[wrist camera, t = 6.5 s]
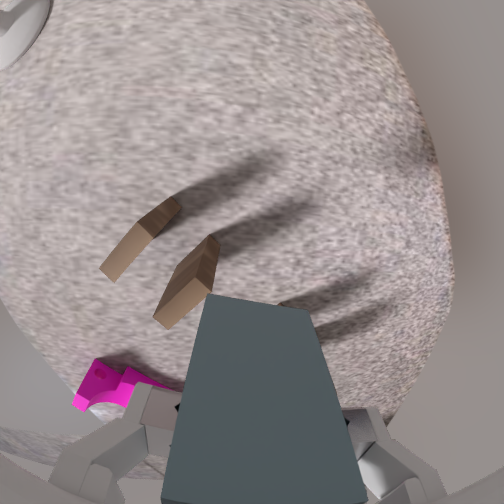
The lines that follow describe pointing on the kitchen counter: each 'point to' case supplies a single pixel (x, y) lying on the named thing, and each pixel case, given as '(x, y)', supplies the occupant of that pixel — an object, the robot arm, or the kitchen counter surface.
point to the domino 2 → (189, 283)
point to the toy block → (108, 386)
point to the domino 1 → (138, 238)
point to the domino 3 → (259, 414)
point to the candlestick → (20, 28)
